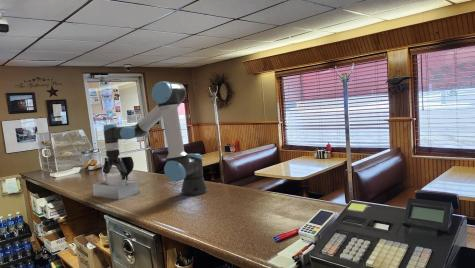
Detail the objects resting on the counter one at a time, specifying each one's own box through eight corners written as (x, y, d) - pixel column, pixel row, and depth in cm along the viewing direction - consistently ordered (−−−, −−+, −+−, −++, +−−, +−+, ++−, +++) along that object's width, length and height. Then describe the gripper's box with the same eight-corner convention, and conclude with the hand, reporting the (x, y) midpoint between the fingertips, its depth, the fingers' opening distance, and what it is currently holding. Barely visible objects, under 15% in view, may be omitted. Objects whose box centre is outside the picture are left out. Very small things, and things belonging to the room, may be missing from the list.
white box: (128, 191, 203) (126, 172, 202) (121, 195, 193) (119, 175, 192) (113, 192, 204) (111, 173, 203) (105, 196, 194) (103, 176, 193)
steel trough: (139, 193, 198) (138, 181, 198) (119, 200, 186) (117, 187, 185) (114, 190, 212) (113, 178, 211) (93, 196, 199) (92, 184, 198)
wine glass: (132, 188, 212) (129, 158, 211) (116, 189, 213) (113, 159, 211) (137, 185, 223) (135, 156, 221) (122, 186, 223) (120, 157, 221)
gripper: (131, 148, 193) (134, 184, 194) (105, 148, 207) (108, 181, 208) (120, 150, 187) (124, 187, 188) (94, 150, 200) (98, 184, 202)
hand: (116, 184), depth 198 cm, fingers open, 13 cm apart
